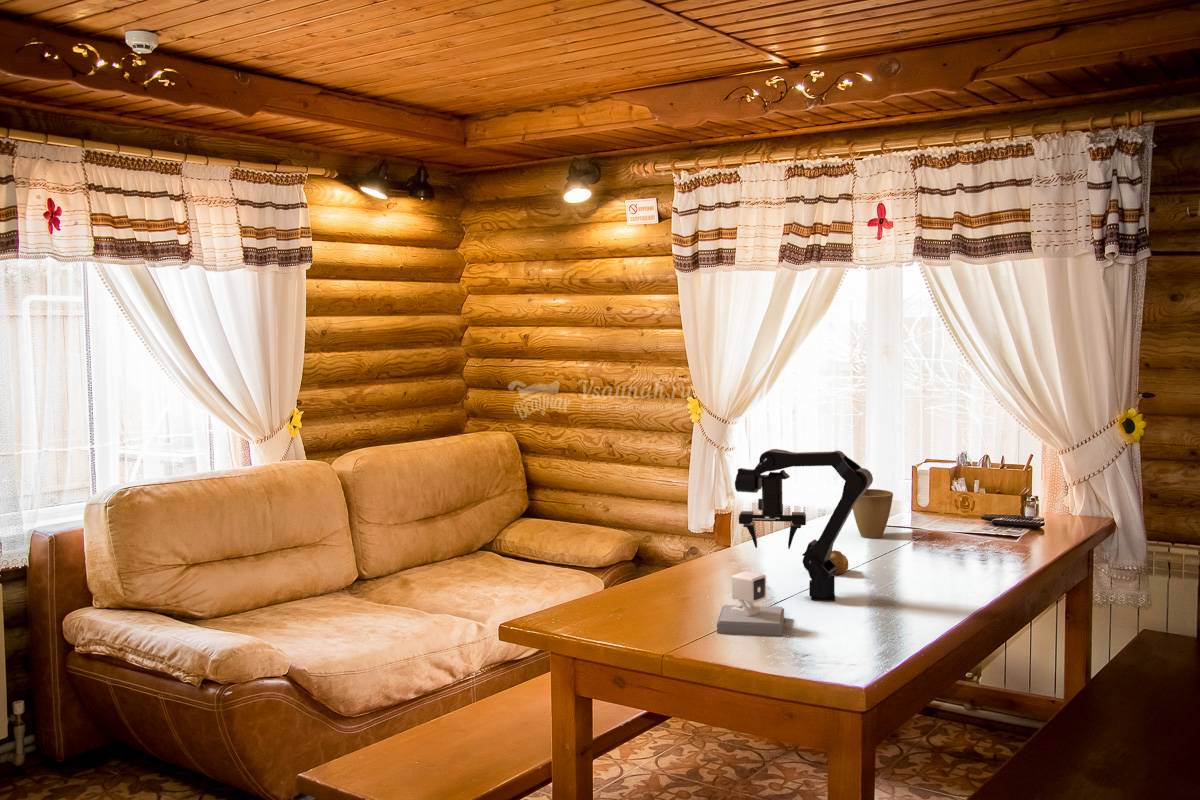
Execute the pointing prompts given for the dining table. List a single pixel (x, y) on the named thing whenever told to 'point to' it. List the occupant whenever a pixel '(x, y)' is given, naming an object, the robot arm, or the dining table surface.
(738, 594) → the security camera
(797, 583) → the dining table surface
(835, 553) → the bread roll
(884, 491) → the plant pot
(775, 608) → the grey square slab
